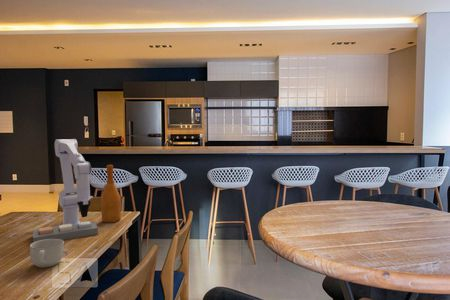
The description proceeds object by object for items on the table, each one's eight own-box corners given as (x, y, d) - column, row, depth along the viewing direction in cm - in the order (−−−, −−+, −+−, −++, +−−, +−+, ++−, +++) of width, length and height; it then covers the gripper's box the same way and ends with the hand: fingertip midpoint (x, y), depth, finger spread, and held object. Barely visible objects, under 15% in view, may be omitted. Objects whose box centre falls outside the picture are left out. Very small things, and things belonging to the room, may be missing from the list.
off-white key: (59, 229, 148) (59, 225, 148) (71, 227, 151) (71, 223, 151) (60, 232, 144) (60, 228, 144) (72, 230, 147) (72, 226, 147)
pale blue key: (78, 226, 152) (78, 222, 152) (89, 225, 155) (89, 221, 155) (79, 229, 148) (79, 225, 148) (91, 227, 151) (90, 223, 151)
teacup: (39, 258, 121) (38, 238, 121) (69, 257, 122) (68, 237, 122) (19, 275, 107) (18, 252, 107) (53, 274, 108) (52, 251, 108)
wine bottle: (116, 216, 178) (114, 163, 176) (124, 220, 171) (122, 164, 169) (98, 220, 172) (96, 164, 169) (106, 224, 164) (104, 166, 162)
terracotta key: (39, 232, 144) (39, 228, 144) (52, 230, 147) (51, 226, 147) (39, 235, 140) (39, 231, 140) (52, 233, 143) (52, 229, 142)
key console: (33, 236, 146) (33, 230, 146) (94, 227, 159) (93, 221, 159) (33, 244, 136) (32, 237, 136) (98, 234, 149) (97, 227, 149)
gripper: (94, 189, 146) (95, 218, 147) (90, 185, 159) (91, 212, 159) (77, 191, 143) (79, 221, 143) (74, 186, 155) (75, 214, 156)
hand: (84, 216), depth 151 cm, fingers closed
